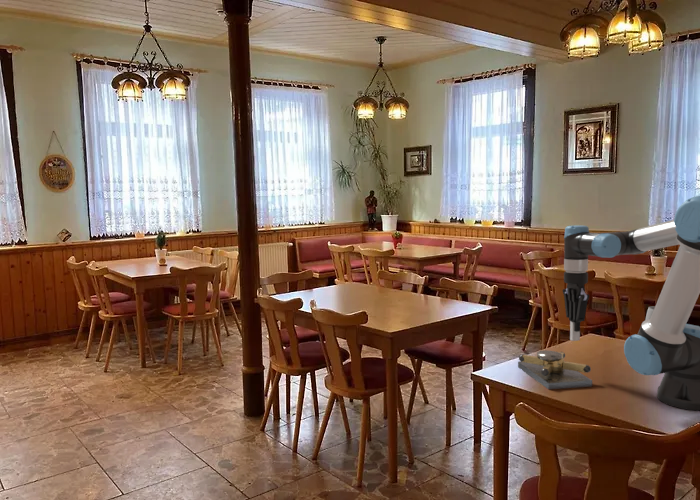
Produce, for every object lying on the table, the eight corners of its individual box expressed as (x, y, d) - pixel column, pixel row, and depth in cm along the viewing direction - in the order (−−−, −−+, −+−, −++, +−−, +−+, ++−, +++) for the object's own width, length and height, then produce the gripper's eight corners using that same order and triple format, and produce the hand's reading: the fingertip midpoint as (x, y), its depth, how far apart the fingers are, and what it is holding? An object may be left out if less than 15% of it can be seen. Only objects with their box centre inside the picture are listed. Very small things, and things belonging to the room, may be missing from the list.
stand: (592, 386, 185) (592, 377, 184) (548, 389, 182) (548, 380, 182) (557, 364, 206) (557, 356, 206) (518, 367, 204) (518, 358, 204)
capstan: (597, 366, 197) (598, 351, 197) (582, 387, 178) (583, 370, 177) (528, 354, 210) (529, 341, 210) (507, 373, 191) (507, 358, 190)
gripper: (597, 273, 187) (596, 344, 189) (575, 268, 200) (574, 334, 202) (576, 274, 186) (574, 345, 188) (555, 269, 199) (554, 336, 201)
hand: (574, 340), depth 195 cm, fingers closed
